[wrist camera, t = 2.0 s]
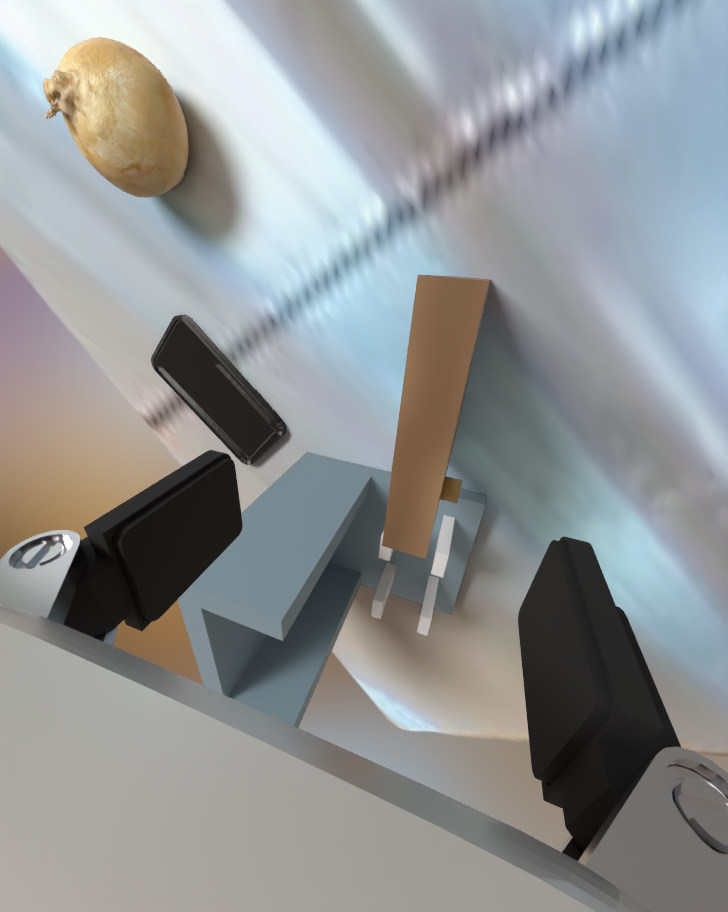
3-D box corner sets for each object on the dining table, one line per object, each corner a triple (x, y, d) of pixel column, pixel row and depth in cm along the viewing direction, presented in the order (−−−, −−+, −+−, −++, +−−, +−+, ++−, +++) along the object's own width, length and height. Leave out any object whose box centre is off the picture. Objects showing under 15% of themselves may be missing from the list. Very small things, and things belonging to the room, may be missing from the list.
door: (506, 281, 23) (519, 283, 11) (464, 449, 29) (444, 564, 17) (455, 276, 24) (418, 274, 12) (425, 441, 30) (381, 545, 18)
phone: (247, 468, 38) (147, 363, 35) (253, 463, 39) (156, 361, 36) (287, 430, 33) (177, 309, 31) (292, 426, 34) (186, 308, 32)
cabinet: (486, 495, 30) (479, 697, 16) (452, 603, 38) (426, 810, 23) (306, 452, 35) (171, 578, 20) (308, 556, 42) (209, 704, 27)
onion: (165, 35, 23) (50, -51, 17) (225, 168, 25) (143, 134, 19) (104, 114, 26) (-8, 66, 20) (162, 224, 29) (76, 210, 23)
